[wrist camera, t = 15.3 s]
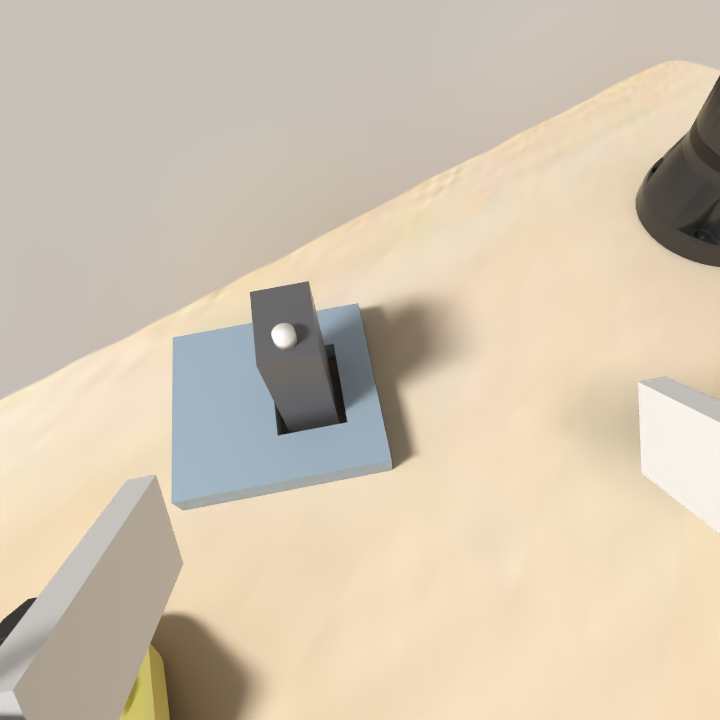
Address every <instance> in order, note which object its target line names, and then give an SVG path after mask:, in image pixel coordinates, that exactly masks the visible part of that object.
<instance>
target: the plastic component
mask: <svg viewBox="0 0 720 720" xmlns="http://www.w3.org/2000/svg"><path fill="white" fill-rule="evenodd" d="M119 720H170V716H169V707H168V698H167V688H166V679H165V670H164V662H163V659H162V657H161V655H160V654H159V653H158V651H157V650H156V649H155V648H154V647H153V645H152V644H151V643H150V645H149V648H148V650H147V653H146V655H145V658H144V660H143V662H142V665H141V667H140V670H139V672H138V675H137V677H136V680H135V682H134V684H133V687H132V689H131V692H130V694H129V697H128V699H127V701H126V704H125V706H124V709H123V711H122V714H121V716H120V719H119Z"/></svg>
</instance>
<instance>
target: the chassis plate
mask: <svg viewBox="0 0 720 720" xmlns="http://www.w3.org/2000/svg"><path fill="white" fill-rule="evenodd" d="M316 313H317V317H318V321H319V325H320V329H321V333H322V337H323V341H324V345H325V349H326V353H327V357H328V359H330V358H335V357H336V360H337V366H338V372H339V377H340V383H341V389H342V394H343V400H344V406H345V411H346V417H347V422H346V423H341V424H336V425H331V426H325V427H320V428H315V429H310V430H305V431H299V432H294V433H289V434H284V435H282V427H281V418H280V412H279V410H278V408H277V406H276V404H275V402H274V400H273V398H272V396H271V394H270V392H269V390H268V388H267V386H266V384H265V382H264V380H263V378H262V376H261V374H260V372H259V370H258V368H257V366H256V356H255V344H254V333H253V323H250V324H244V325H239V326H234V327H228V328H223V329H217V330H212V331H207V332H201V333H196V334H191V335H185V336H180V337H174V338H173V397H172V503H173V504H174V505H176V506H177V507H179V508H180V509H182V510H188V509H193V508H198V507H203V506H208V505H214V504H219V503H224V502H229V501H234V500H239V499H245V498H250V497H255V496H260V495H265V494H270V493H275V492H281V491H286V490H291V489H296V488H301V487H306V486H312V485H317V484H322V483H327V482H332V481H337V480H343V479H348V478H353V477H358V476H363V475H368V474H373V473H379V472H384V471H389V470H392V459H391V455H390V450H389V445H388V441H387V436H386V431H385V427H384V422H383V417H382V413H381V408H380V403H379V399H378V394H377V389H376V385H375V380H374V375H373V371H372V366H371V361H370V357H369V352H368V347H367V343H366V338H365V333H364V329H363V324H362V319H361V315H360V310H359V305H358V303H357V304H352V305H346V306H341V307H336V308H330V309H325V310H320V311H316Z"/></svg>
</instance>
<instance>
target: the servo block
mask: <svg viewBox="0 0 720 720" xmlns="http://www.w3.org/2000/svg"><path fill="white" fill-rule="evenodd" d="M250 297H251V309H252V321H253V333H254V344H255V356H256V366H257V368H258V370H259V372H260V374H261V376H262V378H263V380H264V382H265V384H266V386H267V388H268V390H269V392H270V394H271V396H272V398H273V400H274V402H275V404H276V406H277V408H278V410H279V412H280V414H281V416H282V418H283V420H284V422H285V424H286V426H287V428H288V430H289V432H290V433H294V432H299V431H305V430H310V429H315V428H320V427H325V426H331V425H336V424H339V418H338V412H337V406H336V400H335V394H334V388H333V382H332V376H331V370H330V365H329V361H328V357H327V353H326V349H325V345H324V341H323V337H322V333H321V329H320V325H319V321H318V317H317V313H316V309H315V305H314V301H313V297H312V293H311V289H310V285H309V281H308V282H302V283H297V284H292V285H286V286H281V287H275V288H270V289H264V290H259V291H253V292H250Z"/></svg>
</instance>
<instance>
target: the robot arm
mask: <svg viewBox="0 0 720 720" xmlns="http://www.w3.org/2000/svg"><path fill="white" fill-rule="evenodd" d="M636 210H637V214H638V217H639V219H640V221H641V223H642V225H643V226H644V228H645V229H646V230H647V232H648V233H649V234H650V235H651V236H652V237H653V238H654V239H655V240H656V241H657V242H659V243H660V244H661V245H663V246H664V247H666V248H667V249H669V250H670V251H672V252H674V253H676V254H678V255H680V256H682V257H684V258H687V259H689V260H692V261H695V262H699V263H702V264H707V265H712V266H719V267H720V76H719V78H718V80H717V81H716V83H715V85H714V87H713V89H712V90H711V92H710V94H709V96H708V98H707V99H706V101H705V103H704V105H703V107H702V109H701V110H700V112H699V114H698V116H697V118H696V120H695V122H694V123H693V125H692V127H691V129H690V130H689V131H688V132H687V133H686V134H685V135H684V136H683V137H682V138H681V139H680V140H679V141H678V142H677V143H676V144H675V145H674V146H673V147H672V148H671V149H670V150H669V151H668V152H667V153H666V154H665V155H664V156H663V157H662V158H661V159H660V160H658V161H657V162H656V163H655V164H654V165H653V166H652V168H651V169H650V170H649V171H648V173H647V175H646V176H645V178H644V180H643V182H642V184H641V186H640V188H639V190H638V193H637V197H636ZM638 392H639V418H640V444H641V470H642V474H643V475H644V476H646V477H647V478H648V479H650V480H651V481H652V482H653V483H655V484H656V485H657V486H659V487H660V488H661V489H662V490H664V491H665V492H666V493H668V494H669V495H670V496H671V497H673V498H674V499H675V500H677V501H678V502H679V503H680V504H682V505H683V506H684V507H686V508H687V509H688V510H689V511H691V512H692V513H693V514H695V515H696V516H697V517H698V518H700V519H701V520H702V521H704V522H705V523H706V524H707V525H709V526H710V527H711V528H713V529H714V530H715V531H716V532H718V533H719V534H720V401H719V400H717V399H715V398H713V397H710V396H708V395H706V394H704V393H701V392H699V391H697V390H695V389H692V388H690V387H688V386H686V385H683V384H681V383H679V382H677V381H674V380H672V379H670V378H668V377H661V378H656V379H651V380H646V381H640V382H638ZM182 565H183V561H182V558H181V555H180V552H179V548H178V545H177V542H176V538H175V535H174V532H173V529H172V525H171V522H170V519H169V516H168V512H167V509H166V506H165V503H164V499H163V496H162V493H161V489H160V486H159V483H158V480H157V476H156V475H151V476H146V477H141V478H136V479H130V480H127V481H126V482H125V484H124V485H123V486H122V488H121V489H120V490H119V491H118V493H117V494H116V495H115V497H114V498H113V499H112V501H111V502H110V503H109V505H108V506H107V507H106V508H105V510H104V511H103V512H102V514H101V515H100V516H99V518H98V519H97V520H96V522H95V523H94V524H93V526H92V527H91V528H90V529H89V531H88V532H87V533H86V535H85V536H84V537H83V539H82V540H81V541H80V543H79V544H78V545H77V547H76V548H75V549H74V550H73V552H72V553H71V554H70V556H69V557H68V558H67V560H66V561H65V562H64V564H63V565H62V566H61V568H60V569H59V570H58V571H57V573H56V574H55V575H54V577H53V578H52V579H51V581H50V582H49V583H48V585H47V586H46V587H45V588H44V590H43V591H42V592H41V594H40V595H39V596H38V597H37V598H32V599H28V600H27V601H25V602H24V603H23V604H22V605H20V606H19V607H18V608H17V609H16V610H14V611H13V612H12V613H11V614H9V615H8V616H7V617H6V618H5V619H3V621H2V622H1V623H0V720H119V719H120V716H121V714H122V711H123V709H124V706H125V704H126V701H127V699H128V697H129V694H130V692H131V689H132V687H133V684H134V682H135V680H136V677H137V675H138V672H139V670H140V667H141V665H142V662H143V660H144V658H145V655H146V653H147V650H148V648H149V645H150V643H151V641H152V638H153V636H154V633H155V631H156V628H157V626H158V623H159V621H160V619H161V616H162V614H163V611H164V609H165V606H166V604H167V601H168V599H169V597H170V594H171V592H172V589H173V587H174V584H175V582H176V580H177V577H178V575H179V572H180V570H181V567H182Z"/></svg>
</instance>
